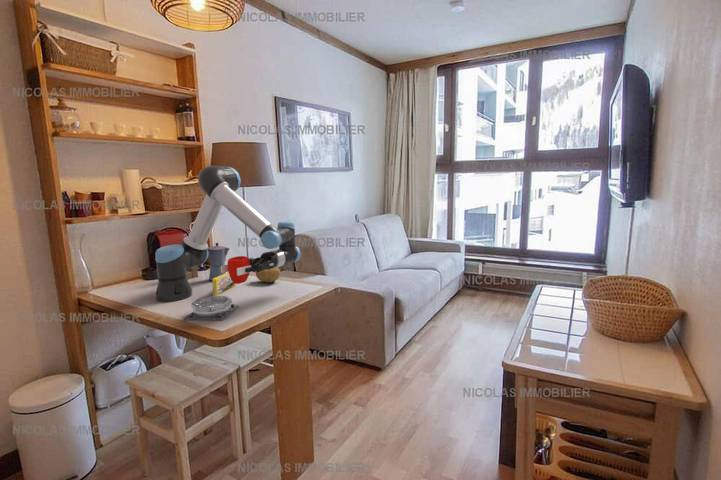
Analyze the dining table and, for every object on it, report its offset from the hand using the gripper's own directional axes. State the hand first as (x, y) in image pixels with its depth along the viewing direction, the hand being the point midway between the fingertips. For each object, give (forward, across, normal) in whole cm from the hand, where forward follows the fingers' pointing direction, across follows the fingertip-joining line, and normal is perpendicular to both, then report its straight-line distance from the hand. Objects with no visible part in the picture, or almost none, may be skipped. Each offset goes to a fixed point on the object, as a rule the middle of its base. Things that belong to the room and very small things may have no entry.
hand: (229, 270), depth 144 cm
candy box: (-19, +30, -18) cm, 40 cm away
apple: (-5, 0, -6) cm, 8 cm away
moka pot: (-31, +52, -18) cm, 63 cm away
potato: (-41, +23, -18) cm, 50 cm away
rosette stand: (+3, +8, -18) cm, 20 cm away
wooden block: (-25, +69, -18) cm, 75 cm away
